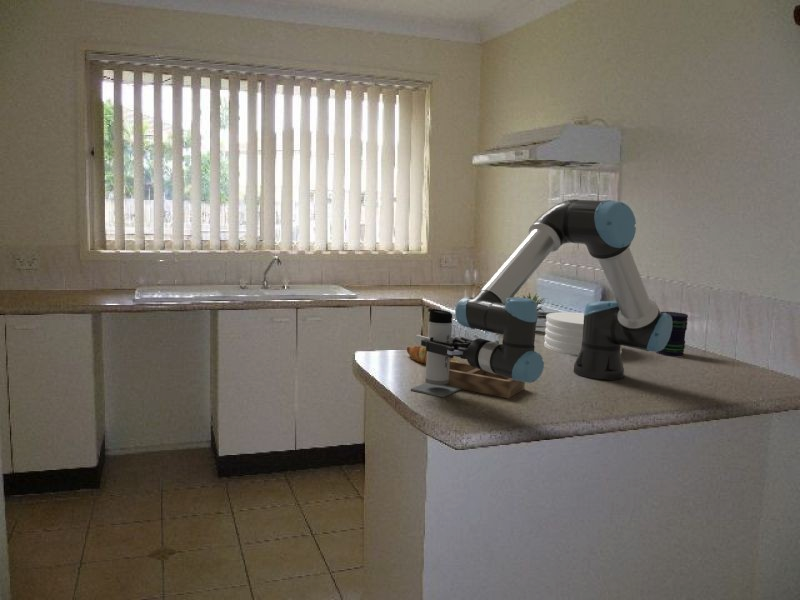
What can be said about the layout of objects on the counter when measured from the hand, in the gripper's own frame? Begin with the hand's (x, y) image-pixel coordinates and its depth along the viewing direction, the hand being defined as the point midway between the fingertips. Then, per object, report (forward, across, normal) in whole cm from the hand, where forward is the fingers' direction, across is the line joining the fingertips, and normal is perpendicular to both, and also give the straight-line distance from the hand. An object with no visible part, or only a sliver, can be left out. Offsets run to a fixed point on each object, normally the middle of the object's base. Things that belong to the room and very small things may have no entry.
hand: (426, 338), depth 192 cm
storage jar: (-9, -113, +13) cm, 114 cm away
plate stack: (+13, -89, +13) cm, 91 cm away
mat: (-5, 0, +13) cm, 14 cm away
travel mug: (-5, 0, +11) cm, 12 cm away
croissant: (+21, -21, +14) cm, 33 cm away
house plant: (+45, -98, +13) cm, 108 cm away
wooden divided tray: (-7, -13, +13) cm, 20 cm away
